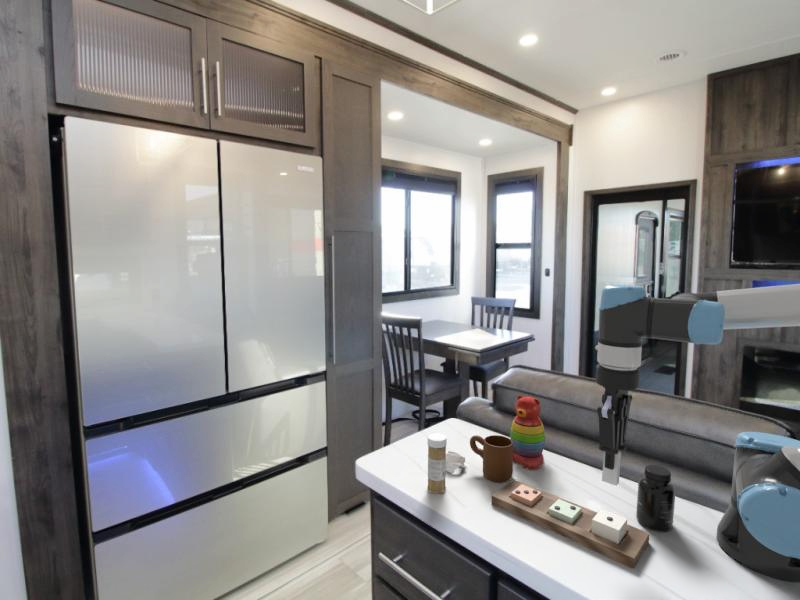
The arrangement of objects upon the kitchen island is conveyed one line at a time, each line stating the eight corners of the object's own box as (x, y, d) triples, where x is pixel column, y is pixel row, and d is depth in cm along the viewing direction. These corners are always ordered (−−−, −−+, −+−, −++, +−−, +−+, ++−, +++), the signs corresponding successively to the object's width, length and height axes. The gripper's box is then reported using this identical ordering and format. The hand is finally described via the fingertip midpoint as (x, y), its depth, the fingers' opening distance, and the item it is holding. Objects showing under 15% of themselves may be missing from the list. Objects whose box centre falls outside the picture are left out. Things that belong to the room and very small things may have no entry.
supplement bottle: (628, 517, 95) (631, 464, 94) (651, 510, 98) (654, 459, 96) (656, 536, 89) (660, 480, 88) (680, 528, 91) (684, 474, 90)
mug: (462, 471, 115) (463, 437, 114) (476, 460, 121) (477, 428, 120) (504, 486, 108) (505, 450, 107) (517, 474, 114) (518, 439, 113)
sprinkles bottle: (435, 482, 110) (435, 431, 108) (449, 489, 106) (450, 436, 105) (423, 489, 106) (423, 436, 105) (438, 496, 103) (438, 442, 102)
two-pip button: (580, 521, 94) (581, 507, 93) (571, 531, 90) (572, 517, 90) (558, 511, 97) (558, 498, 97) (548, 521, 93) (548, 507, 93)
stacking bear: (499, 457, 123) (500, 396, 121) (520, 447, 130) (521, 389, 128) (532, 471, 115) (534, 406, 113) (553, 460, 122) (555, 398, 120)
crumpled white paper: (433, 468, 119) (431, 451, 118) (450, 459, 123) (448, 442, 123) (455, 478, 113) (453, 460, 112) (472, 467, 117) (470, 450, 117)
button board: (648, 542, 87) (649, 533, 87) (633, 568, 80) (634, 558, 79) (513, 487, 107) (513, 479, 107) (491, 503, 100) (491, 495, 100)
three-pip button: (541, 504, 100) (541, 491, 99) (530, 513, 96) (531, 500, 96) (521, 496, 103) (521, 483, 103) (510, 504, 100) (511, 491, 99)
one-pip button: (626, 533, 87) (627, 518, 87) (618, 545, 84) (619, 529, 83) (600, 522, 91) (601, 507, 90) (591, 533, 87) (592, 518, 87)
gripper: (609, 356, 91) (602, 464, 93) (585, 368, 82) (578, 487, 84) (649, 363, 86) (640, 476, 88) (628, 376, 76) (619, 502, 79)
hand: (610, 481), depth 86 cm, fingers closed
